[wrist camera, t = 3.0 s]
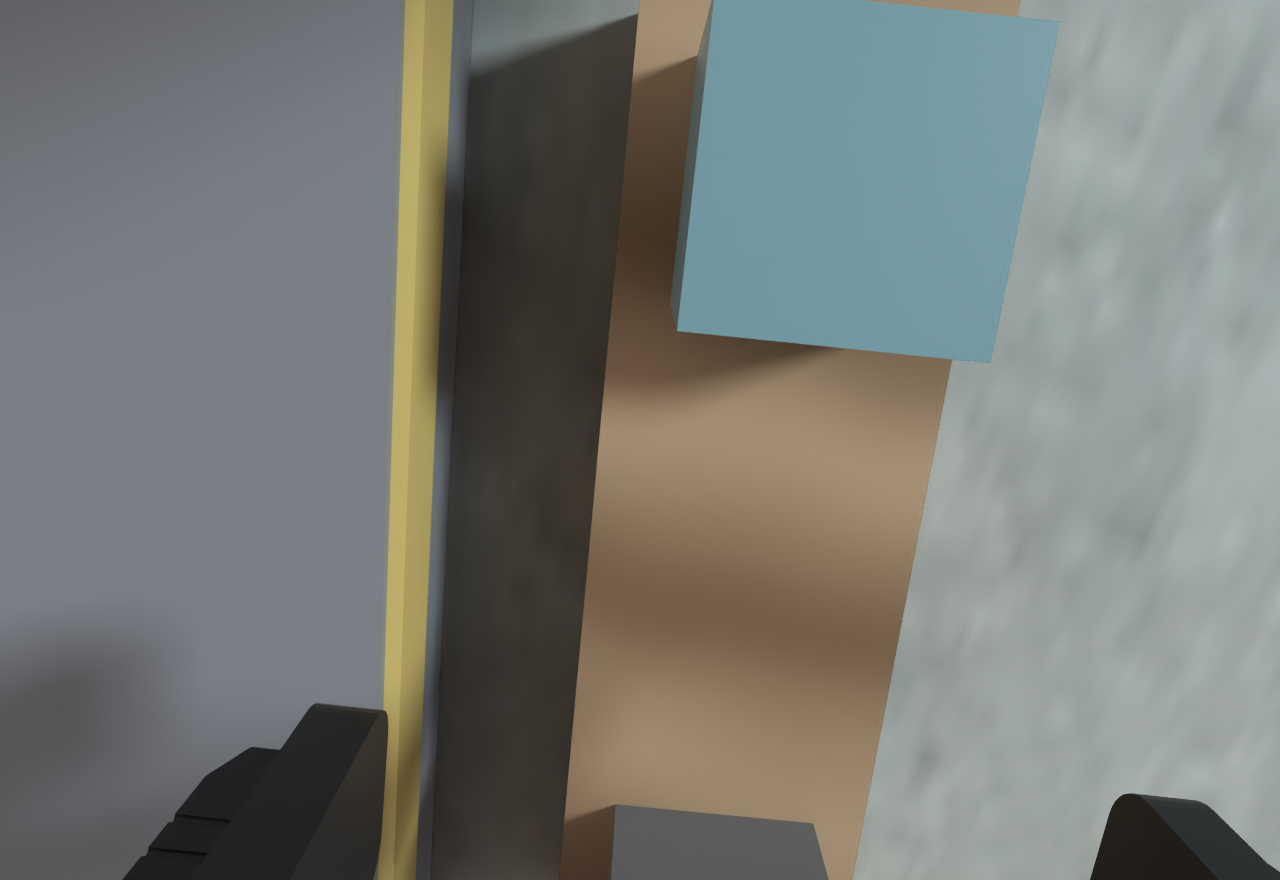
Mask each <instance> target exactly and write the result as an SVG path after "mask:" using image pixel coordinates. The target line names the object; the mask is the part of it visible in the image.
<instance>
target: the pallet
mask: <svg viewBox="0 0 1280 880" xmlns="http://www.w3.org/2000/svg"><path fill="white" fill-rule="evenodd" d="M865 1H874V2H883V3H892V4H902V5H911V6H920V7H930V8H939V9H948V10H958V11H967V12H976V13H986V14H995V15H1004V16H1013V17H1018V11H1019V6H1020V1H1021V0H865ZM710 4H711V0H640V1H639V12H638V22H637V33H636V44H635V55H634V66H633V77H632V88H631V99H630V110H629V120H628V131H627V142H626V153H625V164H624V175H623V186H622V197H621V207H620V218H619V229H618V240H617V251H616V262H615V273H614V284H613V295H612V305H611V316H610V327H609V338H608V349H607V360H606V371H605V382H604V393H603V403H602V414H601V425H600V436H599V447H598V458H597V469H596V480H595V491H594V501H593V512H592V523H591V534H590V545H589V556H588V567H587V578H586V588H585V599H584V610H583V621H582V632H581V643H580V654H579V665H578V676H577V686H576V697H575V708H574V719H573V730H572V741H571V752H570V763H569V774H568V784H567V795H566V806H565V817H564V828H563V839H562V850H561V861H560V871H559V880H608V871H609V862H610V852H611V843H612V834H613V825H614V815H615V806H616V804H617V805H628V806H638V807H649V808H659V809H670V810H680V811H690V812H701V813H711V814H722V815H732V816H743V817H753V818H764V819H774V820H784V821H795V822H805V823H813V824H814V828H815V832H816V835H817V839H818V843H819V846H820V850H821V853H822V857H823V861H824V864H825V868H826V872H827V875H828V879H829V880H852V879H853V874H854V869H855V864H856V859H857V853H858V848H859V843H860V838H861V832H862V827H863V822H864V817H865V812H866V806H867V801H868V796H869V791H870V785H871V780H872V775H873V770H874V764H875V759H876V754H877V749H878V744H879V738H880V733H881V728H882V723H883V717H884V712H885V707H886V702H887V696H888V691H889V686H890V681H891V676H892V670H893V665H894V660H895V655H896V649H897V644H898V639H899V634H900V628H901V623H902V618H903V613H904V608H905V602H906V597H907V592H908V587H909V581H910V576H911V571H912V566H913V561H914V555H915V550H916V545H917V540H918V534H919V529H920V524H921V519H922V513H923V508H924V503H925V498H926V493H927V487H928V482H929V477H930V472H931V466H932V461H933V456H934V451H935V445H936V440H937V435H938V430H939V425H940V419H941V414H942V409H943V404H944V398H945V393H946V388H947V383H948V378H949V372H950V367H951V362H952V359H944V358H935V357H925V356H915V355H905V354H896V353H886V352H876V351H866V350H857V349H847V348H837V347H827V346H818V345H808V344H798V343H788V342H779V341H769V340H759V339H749V338H740V337H730V336H720V335H710V334H701V333H691V332H681V331H677V329H676V325H675V321H674V318H673V314H672V310H671V306H670V301H671V292H672V283H673V274H674V264H675V255H676V246H677V237H678V227H679V218H680V209H681V200H682V191H683V181H684V172H685V163H686V154H687V144H688V135H689V126H690V117H691V108H692V98H693V89H694V80H695V71H696V61H697V54H698V50H699V46H700V43H701V39H702V35H703V31H704V27H705V23H706V20H707V16H708V12H709V8H710Z"/></svg>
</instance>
